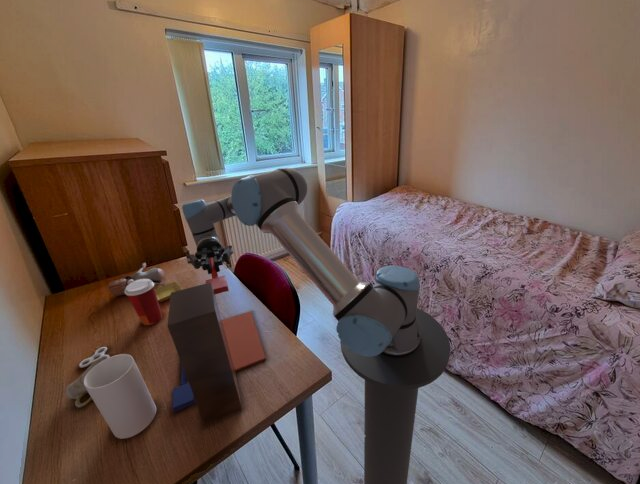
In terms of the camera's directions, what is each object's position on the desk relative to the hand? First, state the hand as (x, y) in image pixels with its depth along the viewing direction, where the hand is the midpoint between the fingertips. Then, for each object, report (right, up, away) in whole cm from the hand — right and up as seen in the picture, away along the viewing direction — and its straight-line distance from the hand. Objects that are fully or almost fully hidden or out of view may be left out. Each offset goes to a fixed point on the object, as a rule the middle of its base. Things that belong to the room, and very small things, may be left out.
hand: (213, 267), depth 73 cm
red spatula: (0, -2, +1) cm, 2 cm away
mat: (+1, -24, +13) cm, 27 cm away
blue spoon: (-8, -29, +2) cm, 30 cm away
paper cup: (-31, -20, +22) cm, 43 cm away
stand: (+4, -31, -4) cm, 31 cm away
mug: (-29, -31, -1) cm, 42 cm away
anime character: (-47, -13, +39) cm, 62 cm away
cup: (-14, -34, -8) cm, 37 cm away
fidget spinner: (-36, -27, +8) cm, 46 cm away
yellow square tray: (-33, -15, +34) cm, 50 cm away
